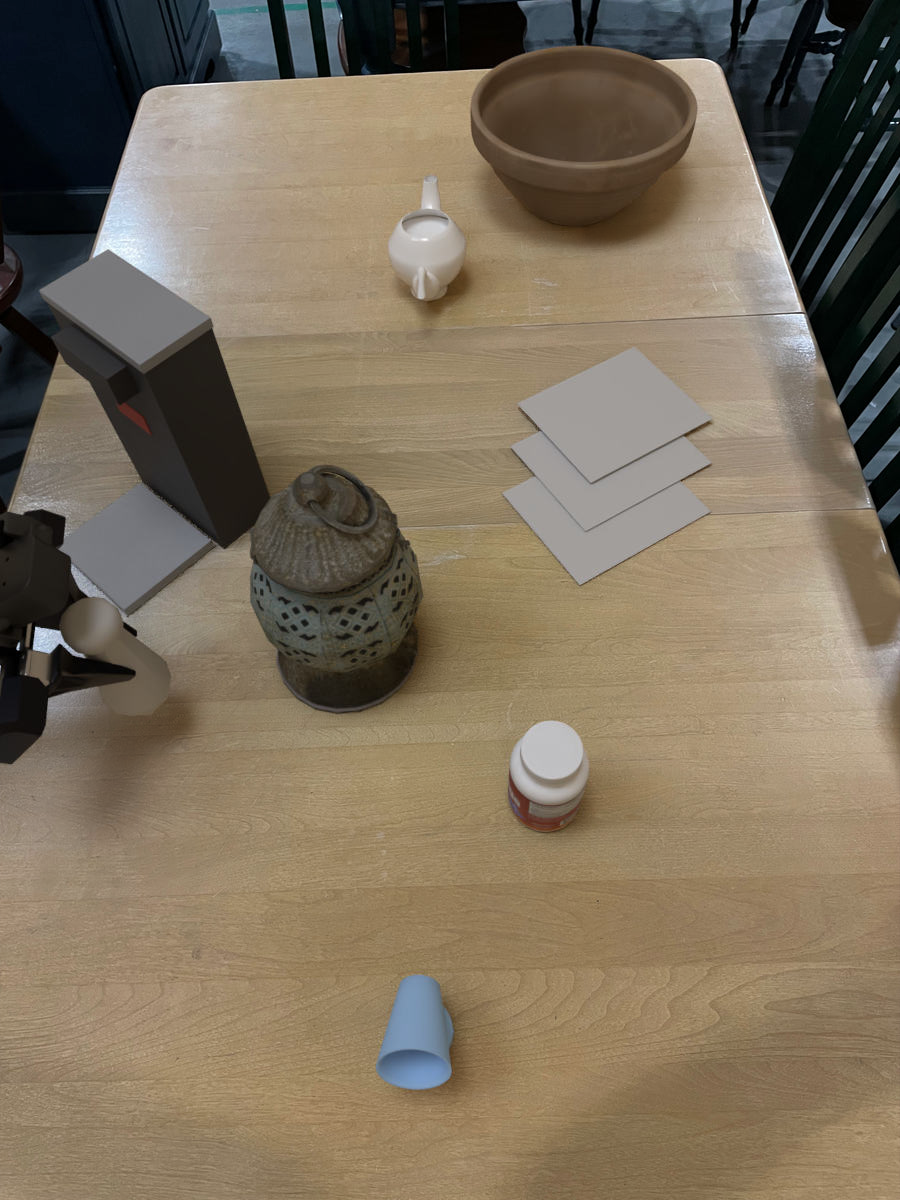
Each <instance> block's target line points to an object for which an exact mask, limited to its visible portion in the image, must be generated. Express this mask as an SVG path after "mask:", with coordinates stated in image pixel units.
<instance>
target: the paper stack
mask: <svg viewBox="0 0 900 1200" xmlns="http://www.w3.org/2000/svg"><path fill="white" fill-rule="evenodd" d="M516 405H517V406H518V407H519V408H520V409H521V410H522V411H523V412H524V414H526V415H527V416H528V418H530V420H531V421H532V422H533V423H534V424H535V426H537V427H538V428H539V431H537V432H535V433H533V434H532V435H529V436H527V437H525V438H524V439H521V440H520V441H517V442H515V443H513V444H512V445H509V446H510V448H511V449H512V451H513V452H514V453H515V454H516V455H517V457H519V458H520V459H521V461H522V462H523V463H524V464H525V465H526V466H527V467H528V468H529V470H530V471H531V472H532V473H533V474H534V476H532V477H530V478H529V479H526V480H525V481H523V482H520V483H519V484H517V485H514V486H512V487H511V488H509V489H507V490H505V491H503V492H502V493H501V494H502V495H503V497H504V498H505V499H506V500H507V501H508V503H509V504H510V505H511V506H512V507H513V508H514V510H515V511H516V512H517V513H518V514H519V516H520V517H521V518H522V520H524V522H525V523H526V524H527V525H528V527H530V529H531V530H532V531H533V532H534V533H535V535H537V537H538V538H539V539H540V541H541V542H542V543H543V544H544V545H545V546H546V547H547V549H548V550H549V551H550V553H552V554H553V555H554V557H555V558H556V560H557V561H558V562H559V563H560V564H561V565H562V566H563V567H564V569H565V570H566V571H567V573H569V574H570V576H571V577H572V578H573V579H574V580H575V582H576V583H577V584H578V585H579V586H581V585H583V584H585V583H586V582H589V581H591V580H592V579H594V578H596V577H598V576H599V575H601V574H603V573H604V572H606V571H608V570H610V569H612V568H613V567H615V566H617V565H619V564H620V563H622V562H625V561H626V560H628V559H629V558H631V557H633V556H635V555H636V554H639V553H640V552H642V551H644V550H645V549H647V548H648V547H651V546H652V545H654V544H656V543H658V542H660V541H662V540H663V539H666V538H667V537H668V536H671V535H672V534H674V533H676V532H678V531H679V530H681V529H683V528H685V527H687V526H689V525H690V524H692V523H693V522H695V521H697V520H699V519H701V518H702V517H704V516H706V515H708V514H709V513H712V510H710V508H709V507H707V506H706V504H705V503H703V502H702V501H701V500H700V499H699V498H698V497H697V496H696V495H695V494H694V493H693V492H692V490H690V489H689V488H688V487H687V486H686V485H685V484H684V483H683V482H682V481H681V480H683V479H685V478H687V477H688V476H691V475H692V474H694V473H696V472H698V471H700V470H701V469H703V468H705V467H707V466H709V465H711V464H712V463H713V462H712V461H711V460H710V459H709V458H708V457H707V456H705V454H704V453H703V452H702V451H700V449H698V448H697V447H696V446H695V445H694V444H693V443H692V442H691V441H690V440H689V439H688V438H687V437H686V436H685V434H687V433H688V432H691V431H692V430H695V429H696V428H698V427H701V426H702V425H704V424H706V423H707V422H709V421H711V420H714V418H713V417H712V416H711V415H710V414H709V413H708V412H707V411H706V410H704V408H702V407H701V406H700V405H699V404H698V403H697V402H696V401H695V400H694V399H693V398H692V397H690V396H689V395H688V394H687V393H686V392H685V391H684V390H683V389H681V388H680V386H678V385H677V384H676V383H675V382H674V381H673V380H672V379H671V378H669V376H668V375H666V374H665V373H664V372H663V371H662V370H661V369H660V368H659V367H658V366H656V365H655V364H654V363H653V362H652V361H651V360H650V359H649V358H648V357H647V356H645V355H644V354H643V353H642V352H641V350H639V349H638V348H636V346H632V347H631V348H628V349H627V350H624V351H623V352H620V353H618V354H616V355H614V356H612V357H610V358H608V359H606V360H604V361H602V362H600V363H598V364H596V365H593V366H592V367H589V368H587V369H585V370H583V371H581V372H579V373H576V374H575V375H573V376H571V377H569V378H566V379H564V380H563V381H560V382H559V383H558V382H557V383H556V384H554V385H552V386H550V387H547V388H546V389H544V390H542V391H540V392H537V393H536V394H533V395H532V396H529V397H527V398H525V399H523V400H521V401H519V402H517V403H516Z"/></svg>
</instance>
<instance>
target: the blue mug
mask: <svg viewBox="0 0 900 1200" xmlns="http://www.w3.org/2000/svg"><path fill="white" fill-rule="evenodd" d="M384 1032H385V1033H384V1035H383V1039H382V1043H381V1046H380V1049H379V1052H378V1057H377V1060H376V1064H375V1071H376V1074H377V1075H378V1076H379V1077H380V1079H382V1080H383V1081H384V1082H385V1083H387V1084H389V1085H392V1086H394V1087H396V1088H401V1089H405V1090H412V1091H413V1090H414V1091H416V1090H417V1091H420V1090H430V1089H434V1088H437V1087H440V1086H442V1085H443V1084H445V1083H446V1082H448V1080H449V1079H450V1078H451V1076H452V1071H453V1070H452V1061H451V1056H450V1055H451V1054H450V1049H451V1047H452V1044H453V1040H454V1035H455V1029H454V1024H453V1020H452V1017H451V1015H450V1013H449V1011H448V1010H447V1008H446V1006H444V1004H443V997H442V991H441V985H440V983H439V981H437V979H435V978H434V977H432V976H428V975H425V974H412V975H408V976H406V977H404V978H403V979H401V980H400V982H399V985H398V988H397V991H396V995H395V998H394V1002H393V1006H392V1008H391V1012H390V1015H389V1019H388V1022H387V1025H386V1029H385V1031H384Z"/></svg>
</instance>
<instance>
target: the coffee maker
mask: <svg viewBox="0 0 900 1200" xmlns="http://www.w3.org/2000/svg"><path fill="white" fill-rule="evenodd" d="M38 292H39V293H40V296H41V298H42V299H43V301H45V302H46V304H47V305H48V307H49V309H50V311H51V313H52V315H53V317H54V319H55V320H56V322H57V324H58V326H59V328H60V331H58V332H56V333H55V334H53V335H52V336H50V338H51V340H52V341H53V344H54V345H55V347H56V349H57V351H58V352H59V354H60V356H61V358H62V360H63V362H64V364H65V365H67V366H68V367H69V368H71V369H72V370H73V371H75V372H76V374H78V375H79V376H81V377H82V378H83V379H85V380H86V381H87V382H89V384H90V386H91V388H92V391H93V392H94V393H95V395H96V397H97V399H98V401H99V403H100V405H101V406H102V409H103V411H104V413H105V414H106V416H107V418H108V420H109V422H110V424H111V426H112V428H113V430H114V431H115V434H116V435H117V437H118V438H119V441H120V443H121V444H122V447H123V449H124V450H125V452H126V454H127V456H128V457H129V459H130V461H131V464H132V465H133V467H134V469H135V471H136V473H137V475H138V476H139V478H140V481H141V482H139V483H137V484H136V485H135V486H133V487H132V488H131V489H129V490H128V491H127V492H126V493H123V495H120V497H118V498H117V499H116V500H114V501H113V502H111V503H110V504H109V505H107V506H106V507H105V508H103V509H102V510H101V511H100V512H98V513H97V514H96V515H94V516H93V517H91V518H90V519H89V520H87V521H86V522H84V523H82V525H81V526H79V527H78V528H76V529H75V530H74V531H72V532H71V533H70V534H68V535H67V536H66V537H65V536H64V543H63V545H62V546H61V548H59V550H60V551H62V552H64V553H65V554H67V555H69V556H70V557H71V565H73V567H74V568H76V569H77V570H78V571H79V572H80V573H81V574H82V575H83V576H84V577H85V578H87V580H88V581H90V582H91V583H92V584H93V585H94V586H95V587H96V588H97V589H98V590H99V591H100V592H101V593H103V594H104V595H105V596H106V597H107V598H108V599H109V600H110V601H111V603H113V604H114V605H115V606H116V607H117V608H118V609H119V610H121V611H122V612H123V613H124V614H125V615H126V616H130V615H131V614H133V613H134V612H135V611H136V610H137V609H139V608H141V606H142V605H144V604H145V603H147V602H148V601H149V600H151V598H152V597H154V596H155V595H157V593H159V592H160V591H161V590H163V589H164V588H165V587H166V586H168V585H169V584H170V583H172V582H173V581H174V580H176V578H178V577H179V576H180V575H181V574H183V572H185V571H186V570H187V569H189V568H190V567H191V566H193V565H194V564H195V563H196V562H197V561H198V560H200V559H201V558H202V557H204V556H205V555H206V554H207V553H208V552H210V551H211V550H212V549H213V548H214V544H213V542H212V541H214V543H216V544H217V545H218V546H220V547H221V548H222V549H223V550H224V549H226V548H227V547H229V546H230V545H232V543H233V542H235V541H236V540H237V539H239V538H240V537H242V535H244V534H245V533H246V532H247V531H248V530H250V529H252V528H253V527H254V526H255V524H256V521H257V519H258V517H259V515H260V513H261V511H262V509H263V508H264V507H265V505H266V504H267V502H268V501H269V499H270V498H271V497H272V496H271V494H270V492H269V489H268V486H267V483H266V479H265V477H264V474H263V471H262V468H261V465H260V463H259V460H258V457H257V453H256V451H255V448H254V446H253V445H254V444H253V442H252V440H251V436H250V434H249V431H248V428H247V425H246V422H245V419H244V416H243V413H242V410H241V408H240V404H239V402H238V399H237V395H236V393H235V390H234V387H233V384H232V381H231V377H230V376H229V372H228V370H227V367H226V364H225V360H224V358H223V355H222V352H221V349H220V346H219V344H218V340H217V337H216V334H215V331H214V323H213V321H212V317H211V316H209V315H208V314H206V313H204V312H203V311H202V310H200V309H199V308H197V307H196V306H194V305H193V304H191V303H190V302H188V301H187V300H185V299H183V298H182V297H180V296H179V295H178V294H177V293H175V292H173V291H172V290H170V289H169V288H168V287H166V286H164V285H163V284H161V283H159V282H158V281H157V280H156V279H154V278H152V277H151V276H149V275H147V274H146V273H145V272H144V271H142V270H140V269H139V268H137V267H136V266H134V265H133V264H131V263H130V262H128V261H127V260H126V259H124V258H122V257H121V256H119V255H118V254H116V253H115V252H114V251H112V250H110V249H109V248H108V249H105V250H103V251H102V252H101V253H98V254H97V255H95V256H93V258H90V259H89V260H87V261H86V262H84V263H82V264H80V265H78V266H77V267H76V268H73V269H72V270H71V271H69V272H67V273H65V274H64V275H62V276H60V277H59V278H56V280H54V281H52V282H50V283H48V284H47V285H45V286H43V287H42V288H40V289H39V290H38ZM145 485H146V486H145ZM152 491H153V492H152ZM157 495H158V496H157ZM162 499H163V500H164V501H163V500H162ZM167 503H168V504H167ZM183 516H184V517H183ZM191 523H192V524H191ZM196 527H197V528H196ZM207 536H208V537H207Z"/></svg>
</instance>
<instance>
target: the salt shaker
mask: <svg viewBox="0 0 900 1200" xmlns="http://www.w3.org/2000/svg"><path fill="white" fill-rule="evenodd" d="M123 621H124V620H123V617H122V614H121V611H120V609H119V607H118V606H116V605H115V604H114V603H113V602H110V601H109V600H108V599H106V598H104V597H98V596H89V598H84V599H81V600H79V601H77V602H76V603H74V604H72V605H70V606H69V607H68V609H67V610H66V611H65V613H64V614H63V615H62V617H61V621H60V625H59V628H60V631H59V632H60V634H61V637H62V640H63V641H64V643H65V644H66V645H67V646H68V647H69V648H71V649H72V650H73V651H74V652H75V653H77V654H79V655H81V654H82V655H83V656H84V658H87V659H92V660H97V661H102V662H107V663H111V664H116V665H121V666H124V667H127V668H130V669H132V670H135V671H136V676H135V677H134V678H133V679H132V680H130V681H125V682H120V683H115V684H109V685H104V686H98V687H97V690H98V692H99V695H100V697H101V700H102V703H104V704H105V705H106V706H107V707H108V708H109V709H110V710H112V711H113V712H114V713H116V714H119V715H125V716H131V717H133V716H147V715H148V716H149V715H153V714H154V713H155V712H156V711H157V710H158V709H159V708H160V707H161V706H162V705H163V704H164V703H165V702H166V701H167V700H168V697H169V693H170V689H171V688H170V687H171V682H172V681H171V680H172V675H171V672H170V668H169V665H168V662H167V660H166V659H164V658H163V657H162V656H161V655H159V654H158V653H156V652H155V651H154V650H153V649H152V648H150V647H149V646H147V645H146V644H145V643H144V642H142V641H141V640H140V639H139V638H137V636H136V637H135V636H133V635H132V634H131V633H130V632H128V631H127V630H126V629H124V628H123Z"/></svg>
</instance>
